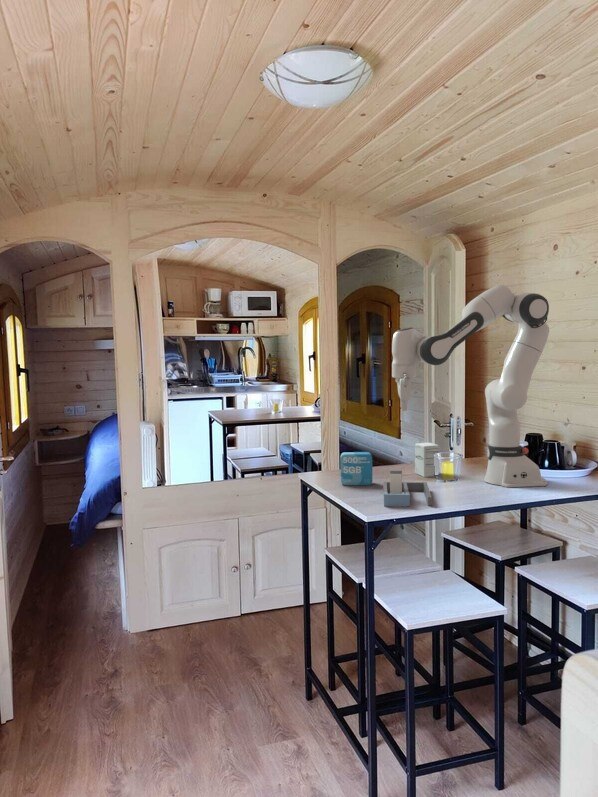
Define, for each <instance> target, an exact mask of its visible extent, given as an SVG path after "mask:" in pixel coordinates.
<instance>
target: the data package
mask: <svg viewBox="0 0 598 797" xmlns="http://www.w3.org/2000/svg"><path fill="white" fill-rule="evenodd" d="M339 458H340V483H341V484H342V485H343V486H370V485H372V484H373V456H372V454H371V452H369V451H353V452H349V451H348V452H347V451H346V452H345V451H344V452H342V453H340V457H339Z"/></svg>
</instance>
